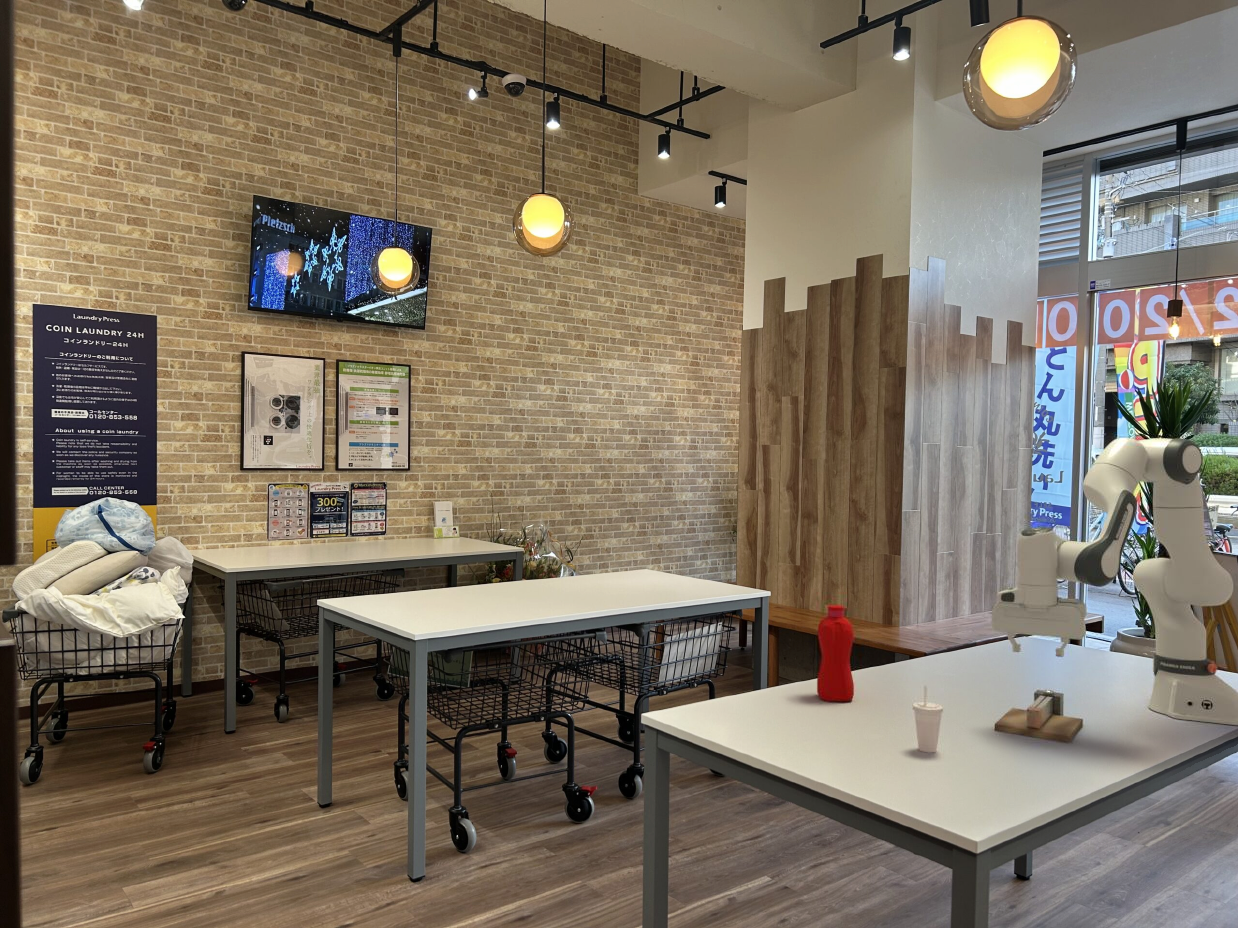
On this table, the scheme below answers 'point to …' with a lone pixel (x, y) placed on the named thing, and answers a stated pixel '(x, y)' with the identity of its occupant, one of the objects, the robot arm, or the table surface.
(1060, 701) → the pivot block
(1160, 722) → the table surface
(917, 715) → the smoothie
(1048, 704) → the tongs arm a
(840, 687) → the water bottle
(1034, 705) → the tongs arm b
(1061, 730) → the walnut board
